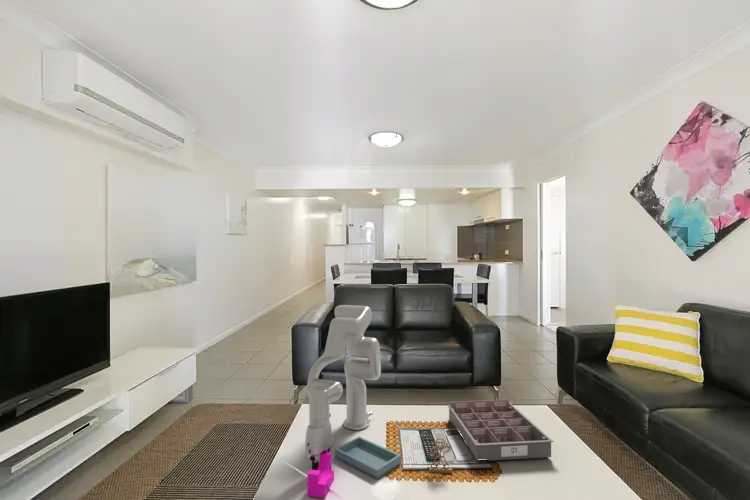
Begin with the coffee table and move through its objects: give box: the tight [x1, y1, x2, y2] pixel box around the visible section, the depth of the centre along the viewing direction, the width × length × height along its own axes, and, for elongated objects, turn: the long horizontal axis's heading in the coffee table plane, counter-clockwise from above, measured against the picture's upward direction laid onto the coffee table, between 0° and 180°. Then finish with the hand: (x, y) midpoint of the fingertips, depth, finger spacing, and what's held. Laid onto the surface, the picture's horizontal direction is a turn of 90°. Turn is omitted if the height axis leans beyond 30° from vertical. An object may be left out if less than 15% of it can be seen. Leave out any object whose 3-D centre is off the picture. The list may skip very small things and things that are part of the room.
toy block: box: [307, 451, 335, 499], centre depth 139 cm, size 15×6×8 cm, turn 169°
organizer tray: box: [446, 399, 554, 461], centre depth 171 cm, size 32×40×10 cm
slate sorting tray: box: [334, 436, 402, 481], centre depth 153 cm, size 14×23×4 cm, turn 48°
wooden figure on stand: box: [428, 437, 454, 474], centre depth 147 cm, size 9×4×12 cm, turn 86°
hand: (319, 468), depth 145 cm, fingers open, 3 cm apart
